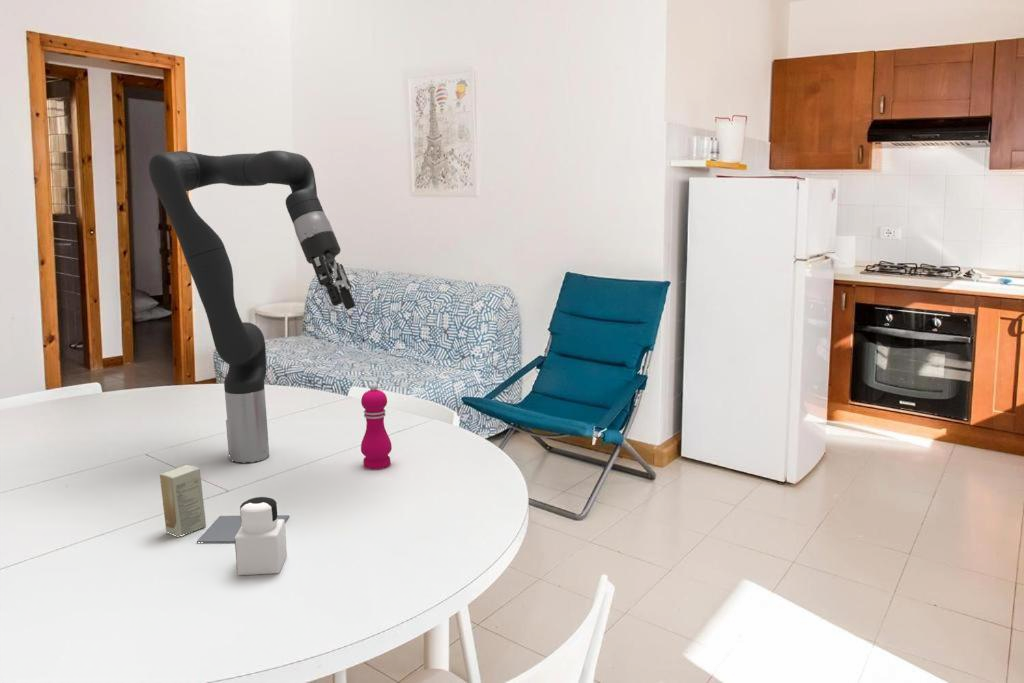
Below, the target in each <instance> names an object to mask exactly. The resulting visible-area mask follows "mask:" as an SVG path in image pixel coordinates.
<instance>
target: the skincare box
mask: <svg viewBox="0 0 1024 683" xmlns="http://www.w3.org/2000/svg"><path fill="white" fill-rule="evenodd" d="M201 476H202V474H201V469H200V468H198V467H197V466H193V465H190V464H185V465H181V466H179V467H175V468H173V469H170V470H168V471H165V472H162V473H159V479H160V480H159V481H160V482H159V483H160V489H161V498H162V507H163V515H164V523H165V531H167V532H169V533H171V534H174V535H176V536H180V535H183V534H186V533H189V532H191V533H194V532H196V531H198V529H199V530H201V529H203V528H206V527H207V521H206V513H205V505H204V504H205V503H204V494H203V488H202V487H203V486H202V485H203V484H202V477H201ZM200 528H201V529H200ZM195 530H196V531H195ZM193 531H194V532H193ZM167 532H166V533H167ZM171 534H170V535H171ZM189 534H190V533H189ZM176 536H175V537H176Z"/></svg>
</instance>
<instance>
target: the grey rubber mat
mask: <svg viewBox="0 0 1024 683" xmlns="http://www.w3.org/2000/svg"><path fill="white" fill-rule="evenodd" d="M277 517H278V519H284V521H285V524H286V523H287V521H288V520H289V519H290V514H289V515H288V514H287V515H286V514H283V515H282V514H279V515H278V514H277ZM241 526H242V525H241V515H219V516H218V517H217V518H216V519H215V520H214V522H213V523H212V524H211V525H210V526H209V527H208V528H207V529H206V530H205V531H204V532H203V533H202V535H201V536H199V538H198V539H197V540H196V544H235V536H236V534H237V533H238V531H239V529H240V528H241ZM198 542H200V543H198ZM201 542H203V543H201Z"/></svg>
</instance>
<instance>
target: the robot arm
mask: <svg viewBox="0 0 1024 683" xmlns="http://www.w3.org/2000/svg"><path fill="white" fill-rule="evenodd" d="M148 174H149V176H150V180H151V183H152V186H153V187H154V190H155V192H156V194H157V197H158V199H159V200H160V202H161V204H162V206H163V208H164V210H165V212H166V214H167V216H168V218H169V220H170V222H171V226H172V228H173V230H174V233H175V235H176V238H177V239H178V243H179V245H180V248H181V250H182V251H181V252H182V253H183V256H184V260H185V262H186V265H187V267H188V270H189V272H190V275H191V277H192V279H193V282H194V285H195V287H196V290H197V293H198V296H199V298H200V301H201V303H202V305H203V308H204V311H205V314H206V318H207V320H208V324H209V328H210V332H211V336H212V340H213V344H214V347H215V350H216V352H217V354H218V356H219V358H221V360H223V362H224V363H226V364H228V370H227V374H226V376H225V378H224V381H223V387H224V389H223V390H224V397H225V398H224V399H225V408H226V409H225V411H226V420H225V426H226V437H227V438H226V439H227V449H228V450H227V451H228V456H229V455H230V457H229V460H230V459H231V460H233V461H236V462H251V463H256V462H255V461H257V462H261V461H263V460H266V459H267V458H269V457H270V449H269V447H270V446H269V445H270V444H269V432H268V431H269V430H268V429H269V428H268V419H267V403H266V390H265V381H266V380H265V379H266V376H267V350H266V349H267V348H266V342H265V340H266V338H265V336H264V333H263V332H262V330H261V329H260V327H258V325H256V324H254V323H251V322H243V321H242V318H241V316H240V314H239V312H238V309H237V305H236V302H235V301H236V300H235V293H234V292H235V291H234V290H235V288H234V287H235V286H234V273H233V267H232V266H233V265H232V264H231V260H230V258H229V255H228V253H227V252H228V251H227V250H226V247H225V244H224V241H223V240H222V238H221V237H220V236H219V234H217V232H215V231H214V229H213V228H212V227H211V226H210V225H209V224H208V223H207V222H206V221H205V220H204V219H203V218H202V217H201V216H200V215H199V214H198V212H197V211H196V210H195V207H193V204H192V202H191V200H190V198H189V196H188V192H189V191H193V190H196V189H199V188H203V187H207V186H210V185H216V184H219V185H221V184H224V185H229V186H235V187H259V186H265V185H267V184H273V185H275V184H276V185H284V186H289V188H290V190H291V191H290V192H291V193H290V194H288V195H287V197H286V199H285V206H286V209H287V213H288V214H289V217H290V220H291V222H292V225H293V227H294V228H293V229H294V231H295V234H296V237H297V240H298V242H299V245H300V247H301V250H302V252H303V255H304V257H305V259H306V262H307V263H308V264H310V265H312V267H313V269H314V273H315V276H316V277H317V280H318V284H319V285H320V286H323V289H324V290H326V292H327V294H328V297H329V300H330V301H331V305H332V306H334V307H336V306H339V305H341V304H343V306H344V308H345V309H346V310H351V309H353V308H355V307H356V302H355V300H354V298H353V294H352V293H351V290H352V289H353V288H352V284H351V283H350V280H349V278H348V276H347V273H346V270H345V269H344V265H343V264H342V263H340V262H337V260H336V259H335V258H336V257H337V256H338V255H340V253H341V251H342V250H341V247H340V244H339V242H338V240H337V237H336V234H335V232H334V229H333V227H332V225H331V222H330V220H329V218H328V217H327V215H326V214H325V210H324V209H323V206H322V204H321V201H320V199H319V197H318V192H317V183H316V182H317V181H316V177H315V171H314V168H313V166H312V164H311V162H310V161H309V160H308V158H307V157H306V156H305V155H303V154H300V153H294V152H290V151H285V150H267V151H263V152H259V153H255V152H254V153H234V154H228V155H208V154H202V153H197V152H192V151H185V150H178V151H177V150H176V151H167V152H158V153H156V154H154V155H152V156H151V158H150V160H149V163H148ZM342 284H343V286H342ZM231 460H230V461H231ZM260 460H261V461H260ZM233 461H232V462H233ZM236 462H235V463H236Z"/></svg>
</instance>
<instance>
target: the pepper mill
mask: <svg viewBox="0 0 1024 683" xmlns="http://www.w3.org/2000/svg"><path fill="white" fill-rule="evenodd" d="M360 401H361V402H360V403H361V406H362V408H363V409H364V411H363V414H364V415H363V417H364V419H365V421H366V428H365V432H364V435H363V438H362V441H361V444H360V451H361V454H362V455H363V456H364V458H363V467H364V468H365V469H368V470H374V469H376V470H382V469H386V468H388V467H390V466H389V465H391V456H389V455H390V453H391V451H392V448H393V447H392V441H391V438H390V436H389V434H388V433H387V431H386V427H385V422H384V420H385V417H386V409H385V407H386V406H387V405H388V397H387V395H386V393H385V392H384V391H382V390H380V389H378V385H377V384H376V383H371V384H370V385H369V390H367V391H365V392H364V393H363V394H362V396H361V400H360Z"/></svg>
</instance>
